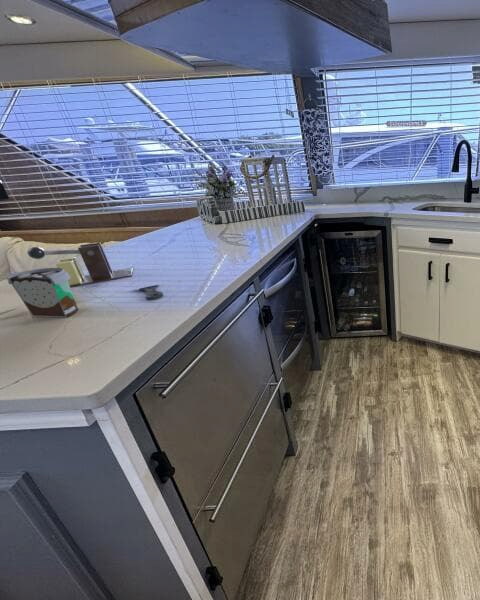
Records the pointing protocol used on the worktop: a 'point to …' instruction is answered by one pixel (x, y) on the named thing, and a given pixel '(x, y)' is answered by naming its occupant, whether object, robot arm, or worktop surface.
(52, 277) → the food container
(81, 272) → the butter
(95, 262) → the slicer
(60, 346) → the worktop surface
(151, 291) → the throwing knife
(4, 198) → the robot arm
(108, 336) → the worktop surface
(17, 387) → the worktop surface
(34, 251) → the lever
